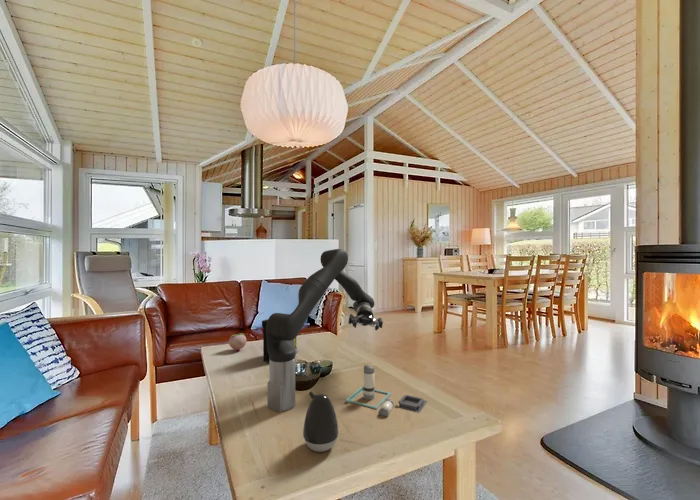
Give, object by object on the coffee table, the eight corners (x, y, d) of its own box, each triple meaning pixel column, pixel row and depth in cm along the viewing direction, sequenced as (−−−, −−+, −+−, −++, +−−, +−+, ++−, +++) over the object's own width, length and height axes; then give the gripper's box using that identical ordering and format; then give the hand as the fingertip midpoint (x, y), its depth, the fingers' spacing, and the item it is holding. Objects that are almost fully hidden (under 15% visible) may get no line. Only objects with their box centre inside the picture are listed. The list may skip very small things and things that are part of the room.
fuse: (388, 419, 115) (387, 409, 115) (378, 418, 116) (378, 408, 116) (394, 408, 122) (393, 399, 122) (385, 407, 124) (384, 398, 124)
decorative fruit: (236, 354, 181) (236, 335, 181) (226, 351, 185) (226, 333, 185) (250, 349, 189) (250, 331, 189) (240, 347, 193) (240, 329, 193)
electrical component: (275, 364, 167) (275, 323, 166) (260, 360, 172) (260, 320, 172) (299, 354, 182) (299, 316, 181) (284, 351, 187) (284, 314, 186)
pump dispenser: (323, 432, 107) (323, 383, 107) (345, 446, 100) (345, 394, 99) (295, 445, 100) (295, 393, 100) (317, 462, 93) (317, 406, 92)
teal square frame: (376, 412, 120) (376, 407, 120) (345, 403, 126) (345, 399, 126) (391, 396, 132) (391, 392, 132) (362, 389, 138) (362, 386, 138)
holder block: (419, 415, 118) (419, 409, 118) (394, 409, 122) (394, 403, 122) (427, 403, 126) (427, 397, 126) (404, 398, 131) (404, 392, 131)
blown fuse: (371, 401, 126) (371, 369, 126) (361, 399, 128) (361, 367, 128) (376, 397, 130) (376, 365, 130) (366, 395, 132) (366, 364, 132)
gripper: (350, 304, 154) (349, 315, 138) (381, 308, 155) (384, 319, 138) (348, 320, 155) (347, 333, 139) (379, 324, 155) (382, 337, 139)
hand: (366, 326), depth 139 cm, fingers open, 8 cm apart
